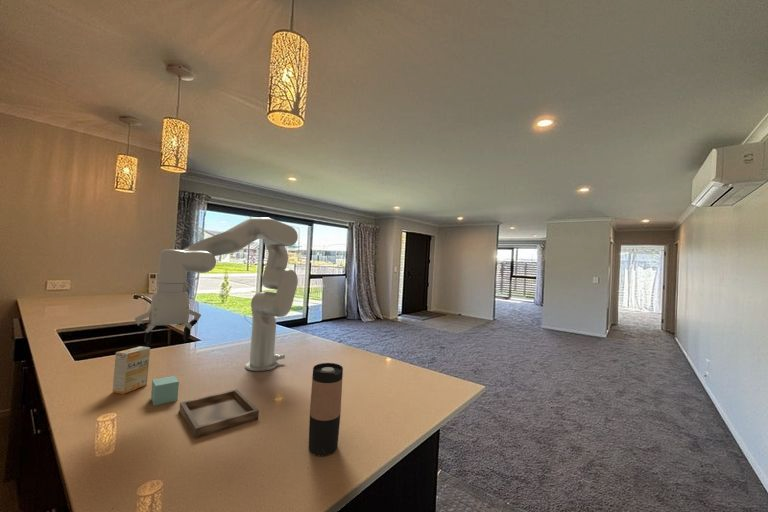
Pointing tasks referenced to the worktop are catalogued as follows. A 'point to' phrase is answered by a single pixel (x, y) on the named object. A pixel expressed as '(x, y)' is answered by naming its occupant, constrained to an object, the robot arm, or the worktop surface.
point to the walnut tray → (217, 412)
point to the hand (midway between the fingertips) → (167, 342)
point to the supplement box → (131, 369)
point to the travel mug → (325, 408)
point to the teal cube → (164, 390)
